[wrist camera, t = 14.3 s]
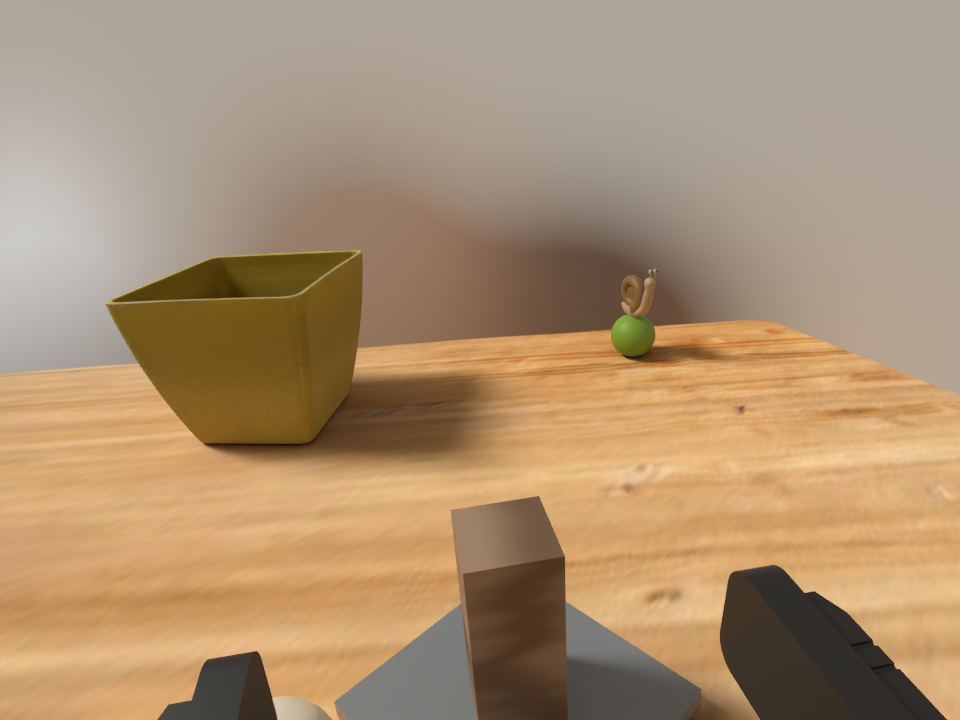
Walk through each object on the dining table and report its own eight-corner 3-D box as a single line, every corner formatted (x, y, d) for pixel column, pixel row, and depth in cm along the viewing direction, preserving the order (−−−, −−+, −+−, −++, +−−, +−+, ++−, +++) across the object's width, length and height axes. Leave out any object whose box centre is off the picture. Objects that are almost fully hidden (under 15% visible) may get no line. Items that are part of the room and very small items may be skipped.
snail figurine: (631, 369, 72) (634, 273, 68) (602, 352, 78) (603, 262, 73) (668, 360, 74) (673, 266, 69) (637, 344, 80) (640, 255, 75)
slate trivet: (337, 716, 33) (334, 701, 32) (510, 578, 42) (510, 565, 41) (525, 946, 23) (524, 929, 23) (699, 705, 32) (701, 689, 32)
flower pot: (243, 381, 77) (211, 254, 71) (383, 379, 75) (364, 247, 68) (151, 461, 60) (98, 303, 54) (330, 463, 57) (297, 296, 51)
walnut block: (480, 745, 30) (462, 573, 25) (468, 668, 34) (450, 510, 29) (567, 727, 30) (564, 556, 26) (545, 654, 34) (538, 496, 30)
